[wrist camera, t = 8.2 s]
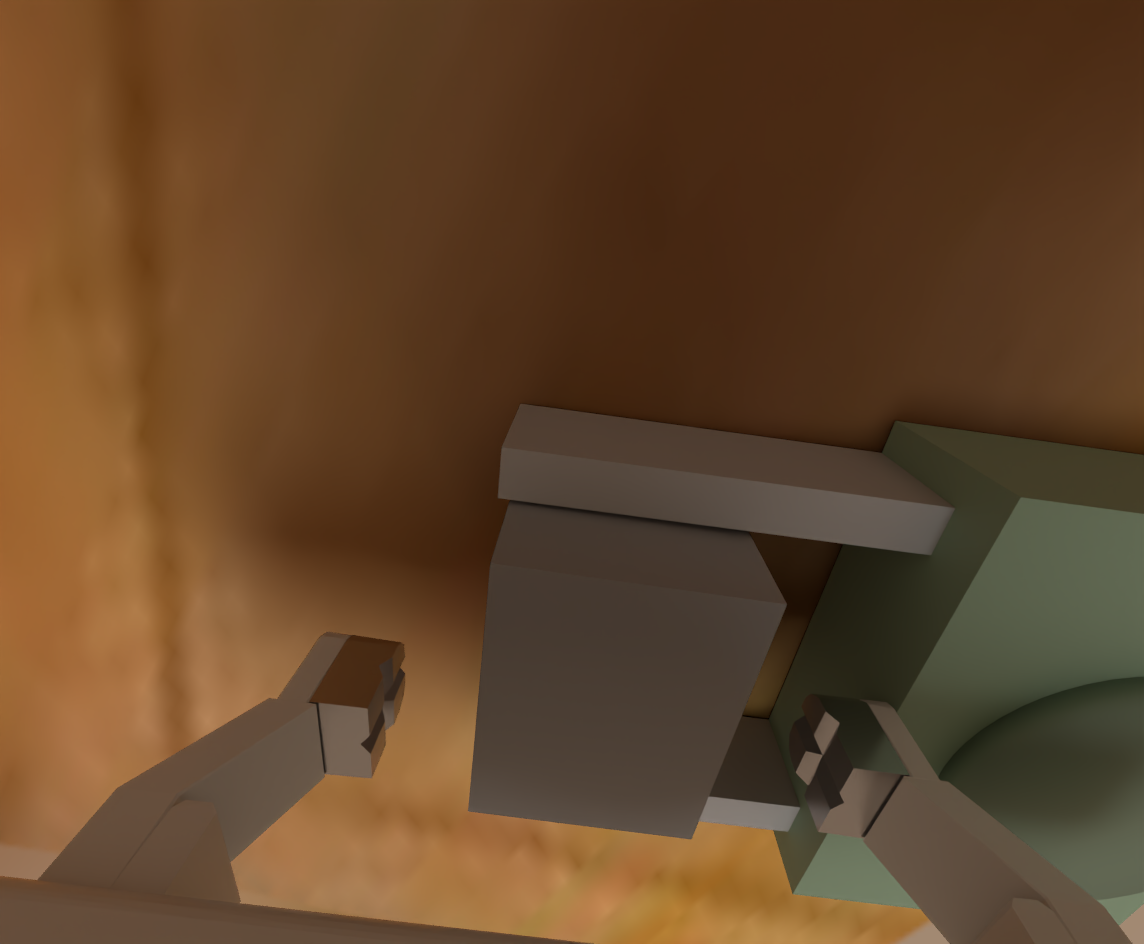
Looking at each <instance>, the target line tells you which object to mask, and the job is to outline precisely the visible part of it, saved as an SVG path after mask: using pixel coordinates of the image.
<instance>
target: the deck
mask: <svg viewBox="0 0 1144 944" xmlns="http://www.w3.org/2000/svg"><path fill="white" fill-rule="evenodd" d="M498 498H501V499H509V500H516V501H524V502H532V503H539V504H547V505H554V506H562V507H569V508H577V509H584V510H592V511H600V512H607V513H615V514H622V515H630V516H637V517H645V518H652V519H660V520H668V521H675V522H683V523H690V524H698V525H705V526H713V527H721V528H728V529H736V530H743V531H751V532H758V533H766V534H773V535H781V536H789V537H796V538H804V539H811V540H819V541H826V542H834V543H841V544H843V546H842V548H841V550H840V553H839V555H838V557H837V560H836V562H835V564H834V567H833V569H832V572H831V574H830V576H829V579H828V581H827V583H826V586H825V588H824V590H823V593H822V595H821V597H820V600H819V602H818V605H817V607H816V609H815V612H814V614H813V616H812V619H811V621H810V623H809V626H808V628H807V630H806V633H805V635H804V638H803V640H802V642H801V645H800V647H799V649H798V652H797V654H796V656H795V659H794V661H793V663H792V666H791V668H790V671H789V673H788V675H787V678H786V680H785V682H784V685H783V687H782V689H781V692H780V694H779V696H778V699H777V701H776V704H775V706H774V708H773V711H772V713H771V715H770V718H769V720H767V719H759V718H751V717H743V716H741V719H740V721H739V724H738V726H737V729H736V731H735V733H734V736H733V738H732V741H731V743H730V746H729V748H728V751H727V753H726V756H725V758H724V760H723V763H722V765H721V768H720V770H719V773H718V775H717V778H716V780H715V782H714V785H713V787H712V790H711V792H710V795H709V797H708V800H707V802H706V805H705V807H704V809H703V812H702V814H701V817H700V819H699V821H702V822H711V823H719V824H727V825H736V826H744V827H752V828H760V829H769V830H773V831H774V834H775V837H776V840H777V844H778V847H779V850H780V854H781V857H782V860H783V863H784V867H785V870H786V873H787V877H788V880H789V883H790V887H791V890H792V893H793V894H796V895H805V896H813V897H822V898H830V899H839V900H847V901H856V902H864V903H873V904H881V905H890V906H898V907H907V908H915V909H920V908H919V907H918V905H917V904H916V903H915V902H914V901H913V899H912V898H911V897H910V896H909V895H908V894H907V892H906V891H905V890H904V889H903V888H902V887H901V885H900V884H899V883H898V882H897V881H896V879H895V878H894V877H893V876H892V875H891V874H890V872H889V871H888V870H887V869H886V868H885V867H884V865H883V864H882V863H881V862H880V861H879V859H878V858H877V857H876V856H875V855H874V854H873V852H872V851H871V850H870V849H869V848H868V846H867V845H866V844H865V843H864V842H863V840H864V839H862V838H856V837H849V836H843V835H836V834H829V833H823V832H818V830H817V828H816V825H815V822H814V820H813V817H812V815H811V812H810V809H809V807H808V804H807V802H806V799H805V796H804V795H805V792H806V789H807V786H808V785H807V784H806V783H805V782H804V781H803V780H802V779H801V778H800V777H799V776H798V775H797V774H796V772H795V770H794V767H793V764H792V761H791V757H790V752H789V734H790V731H791V729H792V726H793V724H794V722H795V721H796V720H798V719H800V718H801V717H803V716H804V715H805V714H804V712H803V709H802V707H801V706H802V704H803V702H804V700H805V698H806V697H807V696H808V695H810V694H811V693H812V694H820V695H829V696H838V697H846V698H855V699H859V700H860V699H863V700H872V701H880V702H887V703H888V704H889V705H891V706H892V707H893V708H894V709H895V711H896V713H897V714H898V716H899V717H900V719H901V720H902V722H903V723H904V725H905V727H906V728H907V730H908V731H909V733H910V734H911V736H912V737H913V739H914V741H915V742H916V744H917V745H918V747H919V748H920V750H921V751H922V753H923V755H924V756H925V758H926V759H927V761H928V762H929V764H930V765H931V767H932V769H933V770H934V772H935V773H936V775H937V776H938V778H939V779H940V780H941V781H947V782H949V783H951V784H952V785H953V786H954V787H956V788H957V789H958V790H959V791H961V792H962V793H963V794H964V795H966V796H967V797H968V798H969V799H971V800H972V801H973V802H974V803H976V804H977V805H978V806H979V807H981V808H982V809H983V810H984V811H986V812H987V813H988V814H989V815H991V816H992V817H993V818H994V819H996V820H997V821H998V822H999V823H1001V824H1002V825H1003V826H1004V827H1006V828H1007V829H1008V830H1009V831H1011V832H1012V833H1013V834H1014V835H1016V836H1017V837H1018V838H1019V839H1021V840H1022V841H1023V842H1024V843H1026V844H1027V845H1028V846H1029V847H1031V848H1032V849H1033V850H1034V851H1036V852H1037V853H1038V854H1039V855H1041V856H1042V857H1043V858H1044V859H1046V860H1047V861H1048V862H1049V863H1051V864H1052V865H1053V866H1054V867H1056V868H1057V869H1058V870H1059V871H1060V872H1062V873H1063V874H1064V875H1065V876H1067V877H1068V878H1069V879H1070V880H1072V881H1073V882H1074V883H1075V884H1077V885H1078V886H1079V887H1080V888H1082V889H1083V890H1084V891H1085V892H1087V893H1088V894H1089V895H1090V896H1092V897H1093V898H1094V899H1095V900H1097V901H1098V902H1099V903H1100V904H1102V905H1103V906H1104V907H1105V908H1106V910H1107V911H1108V912H1109V914H1110V915H1111V916H1112V918H1113V919H1114V920H1115V921H1116V923H1117V924H1118V925H1120V924H1121V923H1122V922H1123V921H1125V920H1126V919H1127V918H1128V917H1129V916H1130V915H1131V914H1132V913H1134V912H1135V911H1136V910H1137V909H1138V908H1139V907H1140V906H1141V905H1143V904H1144V455H1140V454H1133V453H1126V452H1118V451H1111V450H1104V449H1097V448H1089V447H1082V446H1075V445H1068V444H1060V443H1053V442H1046V441H1039V440H1031V439H1024V438H1017V437H1009V436H1002V435H995V434H988V433H980V432H973V431H966V430H959V429H951V428H944V427H937V426H930V425H922V424H915V423H908V422H901V421H895V423H894V425H893V428H892V430H891V432H890V435H889V437H888V440H887V442H886V444H885V447H884V449H883V451H882V453H879V452H872V451H865V450H857V449H850V448H843V447H835V446H828V445H821V444H813V443H806V442H799V441H791V440H784V439H777V438H769V437H762V436H755V435H747V434H740V433H733V432H725V431H718V430H711V429H703V428H696V427H688V426H681V425H674V424H666V423H659V422H652V421H644V420H637V419H630V418H622V417H615V416H608V415H600V414H593V413H586V412H578V411H571V410H564V409H556V408H549V407H542V406H534V405H527V404H520V406H519V408H518V411H517V413H516V415H515V418H514V420H513V422H512V424H511V427H510V429H509V431H508V434H507V436H506V438H505V441H504V443H503V445H502V450H501V463H500V476H499V489H498Z"/></svg>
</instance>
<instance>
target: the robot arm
mask: <svg viewBox="0 0 1144 944" xmlns="http://www.w3.org/2000/svg"><path fill="white" fill-rule="evenodd" d="M404 658H405V650H404V644H403V643H401V642H395V641H389V640H382V639H376V638H369V637H362V636H356V635H346V634H339V633H333V632H326V633H324V634H323V635H322V636H321V637H319V639H318V640H317V642H316V643H315V645H314V646H313V647H312V649H311V650H310V652H309V653H308V655H307V656H306V658H305V659H304V661H303V662H302V663H301V665H300V666H299V668H298V669H297V671H296V672H295V674H294V675H293V677H292V678H291V679H290V681H289V682H288V684H287V685H286V687H285V688H284V690H283V691H282V693H281V694H280V696H279V697H278V698H277V699H272V698H269V699H267V700H265V701H263V702H262V703H260V704H258V705H257V706H255V707H253V708H252V709H250V710H248V711H247V712H245V713H243V714H242V715H240V716H238V717H236V718H235V719H233V720H231V721H230V722H228V723H226V724H225V725H223V726H221V727H220V728H218V729H216V730H215V731H213V732H211V733H209V734H208V735H206V736H204V737H203V738H201V739H199V740H198V741H196V742H194V743H193V744H191V745H189V746H187V747H186V748H184V749H182V750H181V751H179V752H177V753H176V754H174V755H172V756H171V757H169V758H167V759H166V760H164V761H162V762H160V763H159V764H157V765H155V766H154V767H152V768H150V769H149V770H147V771H145V772H144V773H142V774H140V775H139V776H137V777H135V778H133V779H132V780H130V781H128V782H127V783H125V784H123V785H122V786H120V787H118V788H117V789H116V790H115V791H114V792H113V793H112V795H111V796H110V797H109V798H108V799H107V800H106V802H105V803H104V804H103V805H102V806H101V807H100V808H99V810H98V811H97V812H96V813H95V814H94V815H93V817H92V818H91V819H90V820H89V821H88V822H87V823H86V825H85V826H84V827H83V828H82V829H81V830H80V832H79V833H78V834H77V835H76V836H75V837H74V838H73V840H72V841H71V842H70V843H69V844H68V845H67V847H66V848H65V849H64V850H63V851H62V852H61V853H60V855H59V856H58V857H57V858H56V859H55V860H54V862H53V863H52V864H51V865H50V866H49V867H48V868H47V870H46V871H45V872H44V873H43V874H42V875H41V877H40V878H39V879H38V880H31V879H22V878H13V877H5V876H0V944H592V943H583V942H575V941H566V940H557V939H548V938H539V937H531V936H522V935H513V934H504V933H496V932H487V931H478V930H469V929H460V928H452V927H443V926H434V925H425V924H417V923H408V922H399V921H390V920H382V919H373V918H364V917H355V916H346V915H338V914H329V913H320V912H311V911H302V910H294V909H285V908H276V907H268V906H258V905H250V904H241V903H240V897H239V892H238V889H237V885H236V881H235V878H234V874H233V870H232V867H231V863H230V862H231V861H232V860H233V859H235V858H236V857H237V856H238V855H239V854H240V853H241V852H242V851H243V850H245V849H246V848H247V847H248V846H249V845H250V844H251V843H252V842H253V841H254V840H256V839H257V838H258V837H259V836H260V835H261V834H262V833H263V832H264V831H266V830H267V829H268V828H269V827H270V826H271V825H272V824H273V823H274V822H276V821H277V820H278V819H279V818H280V817H281V816H282V815H283V814H284V813H285V812H287V811H288V810H289V809H290V808H291V807H292V806H293V805H294V804H295V803H297V802H298V801H299V800H300V799H301V798H302V797H303V796H304V795H305V794H307V793H308V792H309V791H310V790H311V789H312V788H313V787H314V786H315V785H316V784H318V783H319V782H320V781H321V780H322V779H323V778H324V777H325V775H324V774H330V775H341V776H353V777H364V778H372V777H373V774H374V772H375V769H376V767H377V765H378V762H379V760H380V757H381V755H382V753H383V750H384V748H385V745H386V737H385V730H387V729H388V728H389V727H391V726H392V725H393V724H394V723H395V721H396V718H397V715H398V713H399V710H400V707H401V703H402V699H403V695H404V688H405V673H404V672H403V670H402V669H401V668H400V667H401V665H402V662H403V660H404ZM801 707H802V709H803V712H804V714H805V715H804V716H803V717H801V718H800V719H798V720H796V721H795V722H794V724H793V726H792V729H791V731H790V734H789V752H790V757H791V761H792V764H793V767H794V770H795V772H796V774H797V775H798V776H799V777H800V778H801V779H802V780H803V781H804V782H805V783H806V784H807V785H808V786H807V789H806V792H805V795H804V796H805V799H806V802H807V804H808V807H809V809H810V812H811V815H812V817H813V820H814V822H815V825H816V828H817V830H818V832H823V833H829V834H836V835H843V836H849V837H856V838H862V839H864V840H863V842H864V843H865V844H866V845H867V846H868V848H869V849H870V850H871V851H872V852H873V854H874V855H875V856H876V857H877V858H878V859H879V861H880V862H881V863H882V864H883V865H884V867H885V868H886V869H887V870H888V871H889V872H890V874H891V875H892V876H893V877H894V878H895V879H896V881H897V882H898V883H899V884H900V885H901V887H902V888H903V889H904V890H905V891H906V892H907V894H908V895H909V896H910V897H911V898H912V899H913V901H914V902H915V903H916V904H917V905H918V907H919V908H920V909H921V910H922V911H923V912H924V914H925V915H926V916H927V917H928V918H929V920H930V921H931V922H932V923H933V924H934V925H935V927H936V928H937V929H938V930H939V931H940V932H941V934H942V935H943V936H944V937H945V938H946V940H947V941H948V942H949V943H950V944H1132V943H1131V941H1130V940H1129V939H1128V937H1127V936H1126V935H1125V933H1124V932H1123V931H1122V929H1121V928H1120V927H1119V925H1118V924H1117V923H1116V921H1115V920H1114V919H1113V918H1112V916H1111V915H1110V914H1109V912H1108V911H1107V910H1106V908H1105V907H1104V906H1103V905H1102V904H1100V903H1099V902H1098V901H1097V900H1095V899H1094V898H1093V897H1092V896H1090V895H1089V894H1088V893H1087V892H1085V891H1084V890H1083V889H1082V888H1080V887H1079V886H1078V885H1077V884H1075V883H1074V882H1073V881H1072V880H1070V879H1069V878H1068V877H1067V876H1065V875H1064V874H1063V873H1062V872H1060V871H1059V870H1058V869H1057V868H1056V867H1054V866H1053V865H1052V864H1051V863H1049V862H1048V861H1047V860H1046V859H1044V858H1043V857H1042V856H1041V855H1039V854H1038V853H1037V852H1036V851H1034V850H1033V849H1032V848H1031V847H1029V846H1028V845H1027V844H1026V843H1024V842H1023V841H1022V840H1021V839H1019V838H1018V837H1017V836H1016V835H1014V834H1013V833H1012V832H1011V831H1009V830H1008V829H1007V828H1006V827H1004V826H1003V825H1002V824H1001V823H999V822H998V821H997V820H996V819H994V818H993V817H992V816H991V815H989V814H988V813H987V812H986V811H984V810H983V809H982V808H981V807H979V806H978V805H977V804H976V803H974V802H973V801H972V800H971V799H969V798H968V797H967V796H966V795H964V794H963V793H962V792H961V791H959V790H958V789H957V788H956V787H954V786H953V785H952V784H951V783H949V782H947V781H941V780H940V779H939V778H938V776H937V775H936V773H935V772H934V770H933V769H932V767H931V765H930V764H929V762H928V761H927V759H926V758H925V756H924V755H923V753H922V751H921V750H920V748H919V747H918V745H917V744H916V742H915V741H914V739H913V737H912V736H911V734H910V733H909V731H908V730H907V728H906V727H905V725H904V723H903V722H902V720H901V719H900V717H899V716H898V714H897V713H896V711H895V709H894V708H893V707H892V706H891V705H889V704H888V703H887V702H880V701H872V700H863V699H860V700H859V699H855V698H846V697H838V696H829V695H820V694H812V693H811V694H810V695H808V696H807V697H806V698H805V700H804V702H803V704H802V706H801Z"/></svg>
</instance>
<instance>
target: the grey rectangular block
mask: <svg viewBox="0 0 1144 944" xmlns="http://www.w3.org/2000/svg"><path fill="white" fill-rule="evenodd" d="M786 606H787V603H786V602H785V600H784V598H783V596H782V594H781V592H780V590H779V588H778V586H777V585H776V583H775V581H774V579H773V577H772V575H771V573H770V571H769V569H768V568H767V566H766V564H765V562H764V560H763V558H762V556H761V554H760V552H759V551H758V549H757V547H756V545H755V543H754V541H753V539H752V537H751V535H750V534H749V532H748V531H743V530H736V529H728V528H721V527H713V526H705V525H698V524H690V523H683V522H675V521H668V520H660V519H652V518H645V517H637V516H630V515H622V514H615V513H607V512H600V511H592V510H584V509H577V508H569V507H562V506H554V505H547V504H539V503H532V502H524V501H516V500H510V502H509V505H508V508H507V511H506V515H505V518H504V521H503V524H502V527H501V531H500V534H499V537H498V540H497V543H496V547H495V550H494V553H493V556H492V559H491V563H490V572H489V584H488V595H487V606H486V617H485V629H484V640H483V651H482V662H481V673H480V685H479V696H478V707H477V718H476V730H475V741H474V752H473V763H472V774H471V786H470V797H469V808H468V811H470V812H478V813H486V814H494V815H502V816H509V817H517V818H525V819H533V820H541V821H549V822H557V823H565V824H573V825H581V826H589V827H597V828H605V829H613V830H621V831H629V832H637V833H645V834H653V835H661V836H669V837H677V838H685V839H692V836H693V834H694V832H695V829H696V827H697V824H698V822H699V819H700V817H701V814H702V812H703V809H704V807H705V805H706V802H707V800H708V797H709V795H710V792H711V790H712V787H713V785H714V782H715V780H716V778H717V775H718V773H719V770H720V768H721V765H722V763H723V760H724V758H725V756H726V753H727V751H728V748H729V746H730V743H731V741H732V738H733V736H734V733H735V731H736V729H737V726H738V724H739V721H740V719H741V716H742V714H743V711H744V709H745V706H746V704H747V702H748V699H749V697H750V694H751V692H752V689H753V687H754V684H755V682H756V679H757V677H758V675H759V672H760V670H761V667H762V665H763V662H764V660H765V657H766V655H767V652H768V650H769V648H770V645H771V643H772V640H773V638H774V635H775V633H776V630H777V628H778V626H779V623H780V621H781V618H782V616H783V613H784V611H785V608H786Z"/></svg>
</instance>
